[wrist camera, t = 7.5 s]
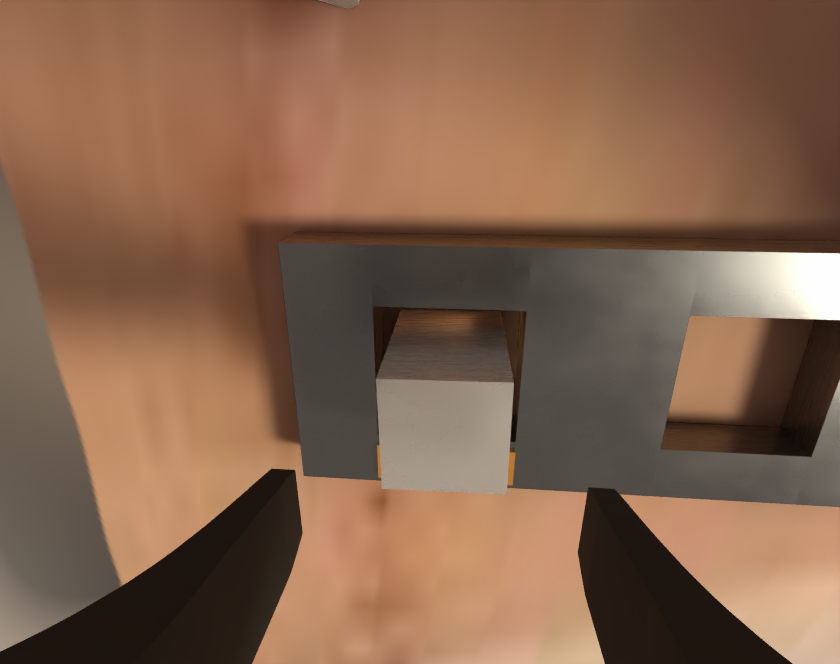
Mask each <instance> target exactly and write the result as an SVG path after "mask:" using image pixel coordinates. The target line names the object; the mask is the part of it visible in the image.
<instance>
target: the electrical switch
mask: <svg viewBox="0 0 840 664" xmlns="http://www.w3.org/2000/svg"><path fill="white" fill-rule="evenodd" d="M319 1H322V2H326V3H329V4H332V5H335V6H339V7H343V8H347V9H350V8H353V7H355V6H357V5H359V2H360V0H319Z"/></svg>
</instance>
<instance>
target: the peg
mask: <svg viewBox="0 0 840 664" xmlns="http://www.w3.org/2000/svg"><path fill="white" fill-rule="evenodd" d="M376 388H377V406H378V425H379V443H380V461H381V480H382V489H401V490H422V491H443V492H465V493H486V494H507V484H508V468H509V453H510V437H511V421H512V406H513V390H514V380H513V375H512V369H511V364H510V358H509V353H508V347H507V342H506V336H505V331H504V325H503V320H502V314H501V311H449V310H401V311H400V314H399V317H398V319H397V322H396V325H395V328H394V330H393V333H392V336H391V339H390V341H389V344H388V347H387V350H386V353H385V355H384V358H383V361H382V364H381V366H380V369H379V372H378V375H377V378H376Z"/></svg>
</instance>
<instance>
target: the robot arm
mask: <svg viewBox="0 0 840 664" xmlns="http://www.w3.org/2000/svg"><path fill="white" fill-rule="evenodd" d="M301 537H302V524H301V516H300V507H299V499H298V491H297V482H296V474H295V470H284V469H271V470H270V471H268V472H267V473H266V474H265V475H264V476H263V477H261V478H260V479H259V480H258V481H257V482H256V483H255V484H253V485H252V486H251V487H250V488H249V489H248V490H247V491H246V492H244V493H243V494H242V495H241V496H240V497H239V498H238V499H236V500H235V501H234V502H233V503H232V504H231V505H230V506H228V507H227V508H226V509H225V510H224V511H223V512H221V513H220V514H219V515H218V516H217V517H215V518H214V519H213V520H212V521H211V522H210V523H208V524H207V525H206V526H205V527H203V528H202V529H201V530H200V531H198V532H197V533H196V534H194V535H193V536H192V537H191V538H189V539H188V540H187V541H186V542H184V543H183V544H182V545H180V546H179V547H178V548H177V549H175V550H174V551H173V552H171V553H170V554H169V555H167V556H166V557H164V558H163V559H162V560H160V561H159V562H157V563H156V564H155V565H153V566H152V567H150V568H149V569H147V570H146V571H144V572H143V573H141V574H140V575H138V576H137V577H135V578H134V579H132V580H131V581H129V582H128V583H126V584H124V585H123V586H121V587H120V588H118V589H116V590H115V591H113V592H111V593H109V594H108V595H106V596H105V597H103V598H101V599H99V600H98V601H96V602H94V603H93V604H91V605H89V606H87V607H86V608H84V609H82V610H81V611H79V612H77V613H76V614H74V615H72V616H70V617H68V618H66V619H65V620H63V621H61V622H59V623H57V624H55V625H53V626H51V627H49V628H47V629H46V630H44V631H42V632H40V633H38V634H36V635H34V636H32V637H30V638H28V639H26V640H24V641H22V642H20V643H17V644H15V645H13V646H11V647H9V648H7V649H5V650H3V651H1V652H0V664H252V662H253V660H254V658H255V655H256V653H257V651H258V648H259V646H260V644H261V641H262V639H263V637H264V635H265V632H266V630H267V628H268V625H269V623H270V621H271V618H272V616H273V614H274V611H275V609H276V607H277V604H278V602H279V600H280V597H281V595H282V593H283V590H284V588H285V586H286V583H287V581H288V578H289V576H290V574H291V571H292V567H293V564H294V561H295V558H296V554H297V551H298V547H299V544H300V540H301ZM578 555H579V562H580V568H581V574H582V580H583V585H584V591H585V596H586V600H587V603H588V607H589V610H590V614H591V617H592V621H593V624H594V628H595V631H596V635H597V638H598V641H599V645H600V648H601V652H602V655H603V658H604V662H605V664H792V663H791V662H790V661H788V660H787V659H786V658H785V657H783V656H782V655H781V654H779V653H778V652H777V651H776V650H774V649H773V648H772V647H771V646H769V645H768V644H767V643H766V642H765V641H763V640H762V639H761V638H760V637H758V636H757V635H756V634H755V633H754V632H753V631H751V630H750V629H749V628H748V627H747V626H746V625H745V624H743V623H742V622H741V621H740V620H739V619H738V618H737V617H735V616H734V615H733V614H732V613H731V612H730V611H729V610H727V609H726V608H725V607H724V606H723V605H722V604H721V603H720V602H719V601H718V600H717V599H715V598H714V597H713V596H712V595H711V594H710V593H709V592H708V591H707V590H706V589H705V588H704V587H703V586H702V585H701V584H700V583H699V582H698V581H697V580H696V579H695V578H694V577H693V576H692V575H691V574H690V573H689V572H688V571H687V570H686V569H685V568H684V567H683V566H682V565H681V564H680V562H679V561H678V560H677V559H676V558H675V557H674V556H673V555H672V554H671V553H670V552H669V551H668V549H667V548H666V547H665V546H664V545H663V544H662V543H661V542H660V541H659V540H658V538H657V537H656V536H655V535H654V534H653V533H652V532H651V531H650V529H649V528H648V527H647V526H646V525H645V524H644V522H643V521H642V520H641V519H640V518H639V517H638V515H637V514H636V513H635V512H634V511H633V510H632V508H631V507H630V506H629V505H628V504H627V502H626V501H625V500H624V499H623V498H622V497H621V495H620V494H619V493H618V492H617V491H616V490H615V489H609V488H592V487H588V492H587V499H586V505H585V511H584V517H583V524H582V530H581V536H580V542H579V549H578Z"/></svg>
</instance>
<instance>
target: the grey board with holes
mask: <svg viewBox="0 0 840 664" xmlns="http://www.w3.org/2000/svg"><path fill="white" fill-rule="evenodd" d="M278 247H279V256H280V265H281V274H282V283H283V292H284V301H285V310H286V319H287V328H288V337H289V346H290V355H291V364H292V373H293V382H294V391H295V400H296V409H297V418H298V427H299V436H300V445H301V454H302V463H303V472H304V476H313V477H330V478H348V479H365V480H381V461H380V443H379V425H378V406H377V388H376V378H377V375H378V372H379V369H380V366H381V364H382V361H383V358H384V356H383V325H382V307H408V308H443V309H477V310H511V311H520V317H519V329H518V342H517V354H516V367H515V379H514V391H513V406H512V421H511V437H510V453H509V468H508V484H507V488H520V489H538V490H555V491H572V492H588V487H592V488H609V489H615V490H616V491H617V492H618V493H619V494H624V495H641V496H659V497H676V498H693V499H710V500H728V501H745V502H762V503H780V504H797V505H814V506H831V507H840V241H818V240H759V239H700V238H641V237H582V236H523V235H464V234H405V233H346V232H295V233H293V234H292V235H290V236H288V237H287V238H285V239H284V240H282V241H280V242H279V243H278ZM689 316H717V317H751V318H786V319H816V321H815V324H814V327H813V330H812V333H811V336H810V340H809V343H808V346H807V349H806V352H805V355H804V358H803V361H802V364H801V367H800V370H799V373H798V376H797V380H796V383H795V386H794V389H793V392H792V395H791V398H790V401H789V404H788V407H787V410H786V413H785V416H784V419H783V423H782V426H781V427H762V426H740V425H719V424H697V423H675V422H666V421H667V416H668V412H669V407H670V403H671V398H672V394H673V389H674V385H675V380H676V375H677V371H678V366H679V362H680V357H681V353H682V348H683V344H684V339H685V335H686V330H687V326H688V321H689Z"/></svg>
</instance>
